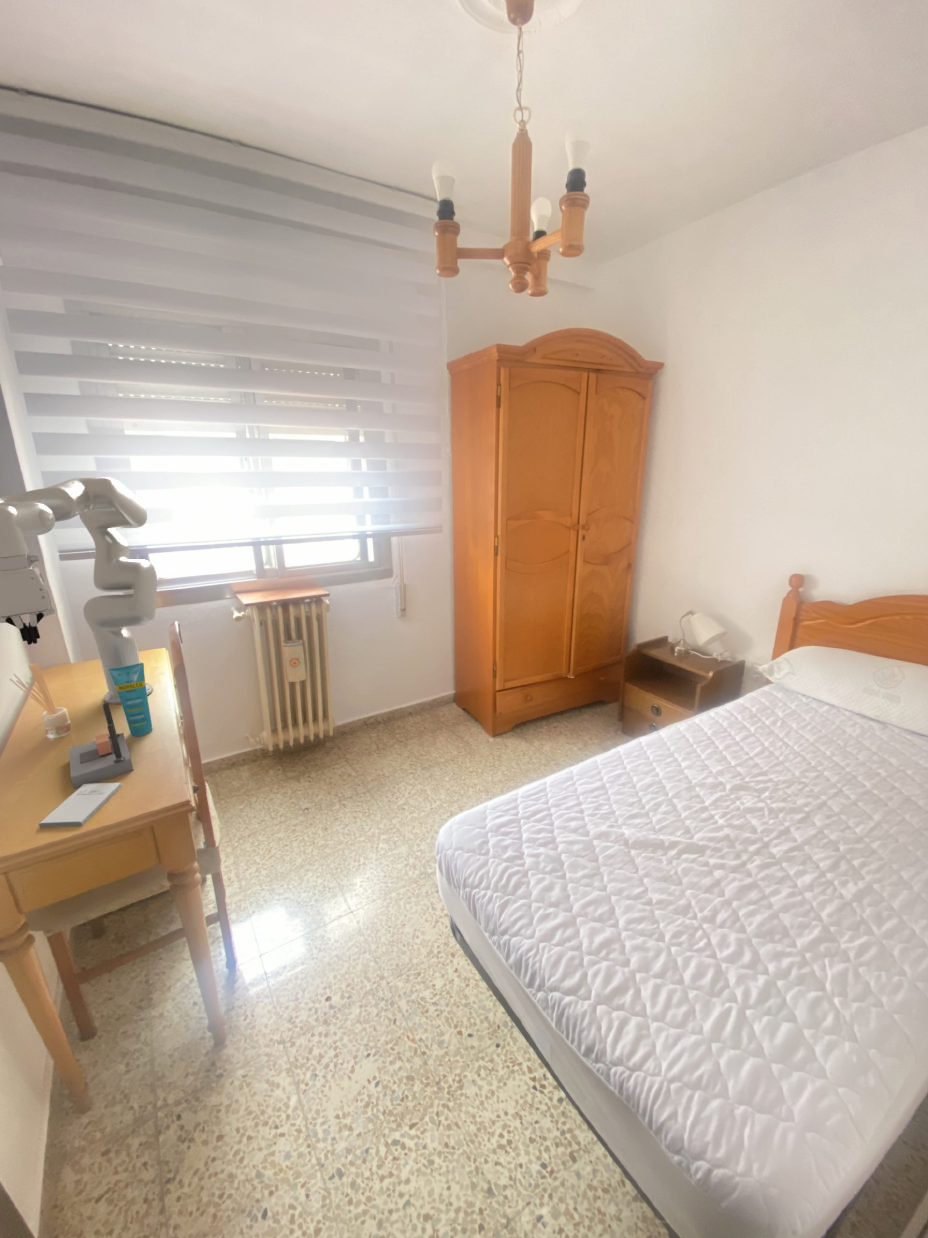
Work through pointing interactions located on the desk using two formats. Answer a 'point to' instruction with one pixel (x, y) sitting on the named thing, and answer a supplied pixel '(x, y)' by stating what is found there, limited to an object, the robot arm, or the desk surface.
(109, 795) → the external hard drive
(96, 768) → the grey switch base
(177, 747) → the desk surface
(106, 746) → the block
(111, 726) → the cord front
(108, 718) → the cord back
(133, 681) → the tube
